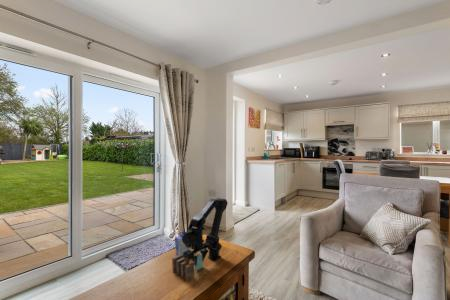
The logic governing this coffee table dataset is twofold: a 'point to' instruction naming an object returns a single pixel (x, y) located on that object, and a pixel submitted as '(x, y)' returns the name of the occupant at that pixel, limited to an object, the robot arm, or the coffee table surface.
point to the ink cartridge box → (180, 245)
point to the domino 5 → (199, 262)
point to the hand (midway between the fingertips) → (198, 264)
